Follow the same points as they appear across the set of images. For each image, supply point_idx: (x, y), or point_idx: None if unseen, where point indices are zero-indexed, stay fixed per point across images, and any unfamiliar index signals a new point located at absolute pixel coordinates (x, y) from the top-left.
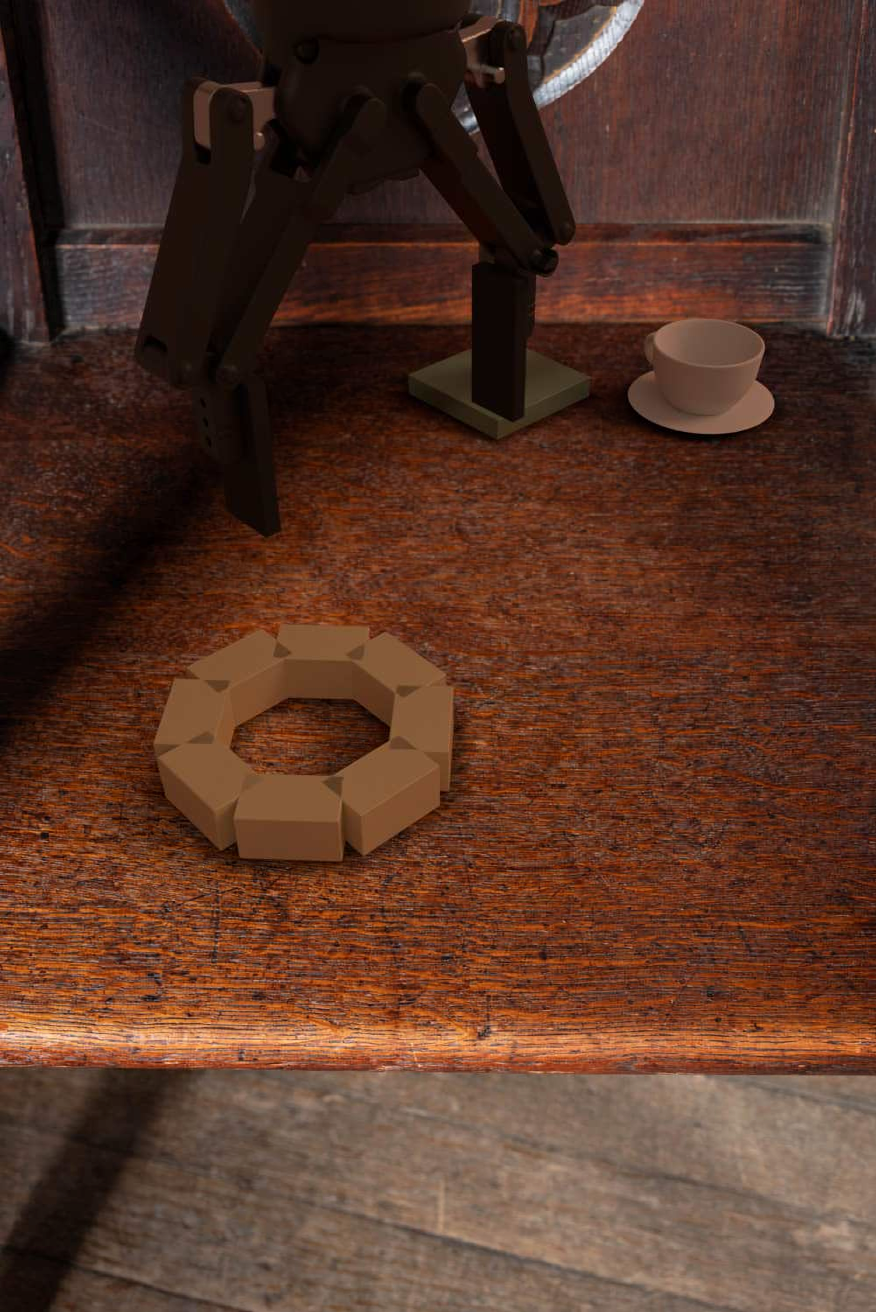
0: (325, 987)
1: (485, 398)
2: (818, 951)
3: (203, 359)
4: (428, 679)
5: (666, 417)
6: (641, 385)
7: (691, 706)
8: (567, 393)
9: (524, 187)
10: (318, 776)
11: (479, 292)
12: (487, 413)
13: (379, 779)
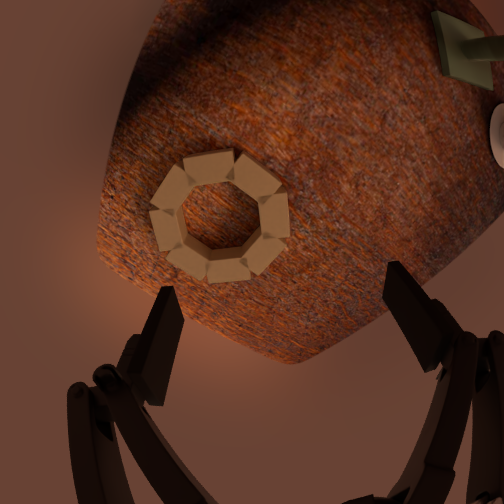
0: None
1: (389, 279)
2: (302, 354)
3: (113, 425)
4: (280, 235)
5: (494, 134)
6: (501, 108)
7: (362, 277)
8: (481, 86)
9: (481, 401)
10: (204, 258)
11: (429, 328)
12: (449, 66)
13: (225, 273)
